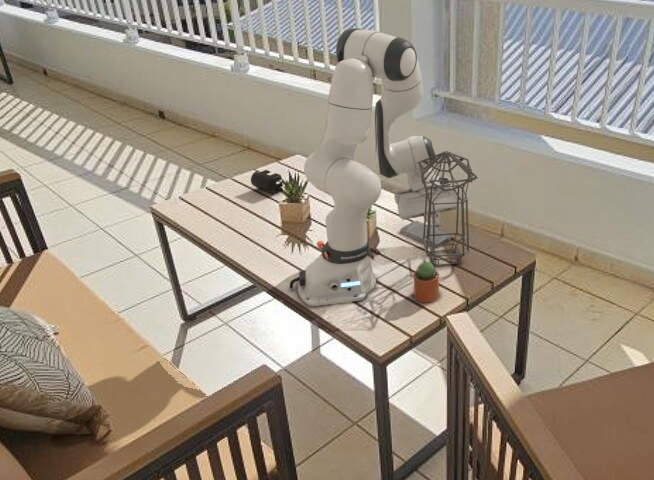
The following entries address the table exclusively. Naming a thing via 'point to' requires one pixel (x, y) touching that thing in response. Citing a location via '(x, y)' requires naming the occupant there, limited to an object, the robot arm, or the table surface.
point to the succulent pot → (426, 283)
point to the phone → (417, 231)
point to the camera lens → (267, 181)
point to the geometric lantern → (469, 179)
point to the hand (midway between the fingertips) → (435, 226)
